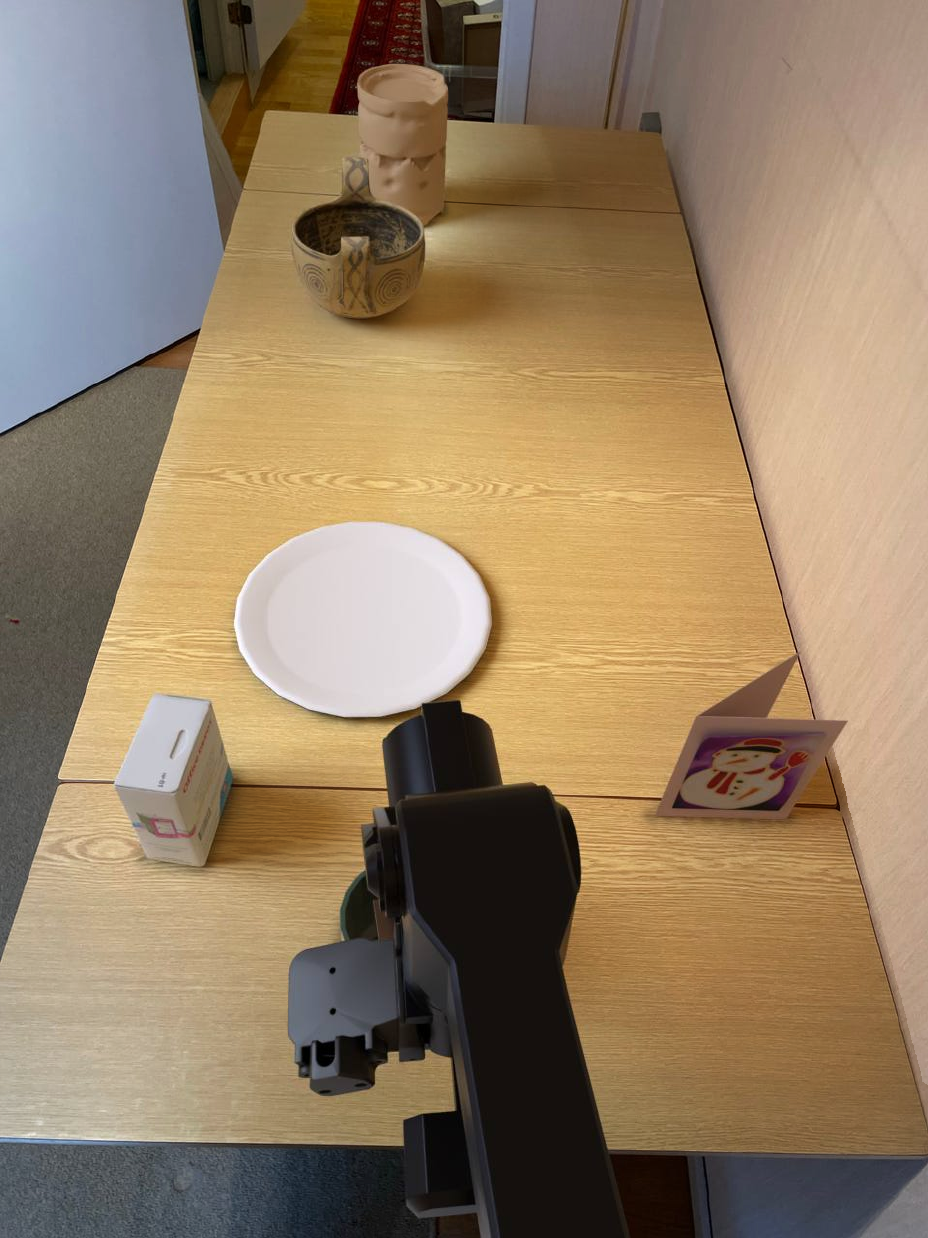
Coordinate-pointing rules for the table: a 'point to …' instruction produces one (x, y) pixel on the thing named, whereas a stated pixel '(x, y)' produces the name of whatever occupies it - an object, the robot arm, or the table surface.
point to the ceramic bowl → (358, 249)
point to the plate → (363, 619)
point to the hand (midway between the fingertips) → (448, 1054)
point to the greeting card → (748, 756)
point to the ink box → (175, 779)
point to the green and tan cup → (358, 911)
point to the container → (405, 136)
